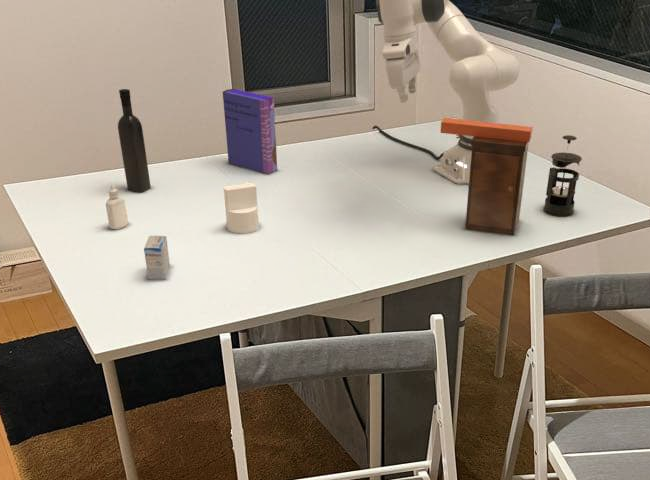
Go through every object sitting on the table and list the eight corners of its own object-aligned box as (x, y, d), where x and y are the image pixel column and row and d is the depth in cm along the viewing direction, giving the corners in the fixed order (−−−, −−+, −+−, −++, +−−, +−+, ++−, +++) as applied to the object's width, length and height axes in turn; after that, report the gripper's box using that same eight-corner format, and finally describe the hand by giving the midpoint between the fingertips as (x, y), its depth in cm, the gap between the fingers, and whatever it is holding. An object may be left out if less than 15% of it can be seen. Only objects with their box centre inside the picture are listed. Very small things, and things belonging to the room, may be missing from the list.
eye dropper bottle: (131, 227, 234) (124, 186, 227) (111, 230, 231) (104, 189, 225) (126, 221, 237) (119, 181, 230) (107, 225, 234) (99, 184, 228)
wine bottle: (126, 190, 257) (110, 91, 240) (137, 184, 262) (122, 86, 245) (141, 193, 256) (126, 93, 239) (152, 187, 260) (138, 89, 243)
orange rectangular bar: (440, 132, 230) (441, 122, 229) (443, 128, 234) (444, 117, 232) (529, 142, 226) (530, 131, 224) (531, 137, 229) (532, 126, 228)
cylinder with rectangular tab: (232, 235, 232) (229, 194, 225) (223, 223, 238) (219, 183, 231) (263, 230, 235) (260, 189, 228) (252, 219, 242) (249, 179, 235)
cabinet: (463, 230, 240) (470, 141, 225) (471, 214, 250) (478, 128, 235) (514, 237, 237) (525, 147, 222) (520, 220, 247) (530, 133, 232)
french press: (581, 215, 252) (593, 140, 239) (555, 219, 249) (567, 143, 236) (559, 202, 261) (570, 128, 248) (534, 205, 258) (544, 131, 245)
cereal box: (277, 170, 277) (273, 97, 263) (268, 174, 273) (263, 100, 260) (238, 160, 284) (232, 88, 270) (228, 163, 281) (222, 90, 267)
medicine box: (153, 266, 214) (148, 235, 209) (170, 266, 214) (166, 235, 209) (148, 280, 207) (143, 248, 202) (166, 279, 208) (161, 248, 203)
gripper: (400, 37, 231) (407, 88, 239) (380, 54, 215) (388, 108, 223) (421, 35, 230) (427, 86, 237) (403, 51, 214) (410, 106, 221)
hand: (408, 97), depth 230 cm, fingers open, 8 cm apart
